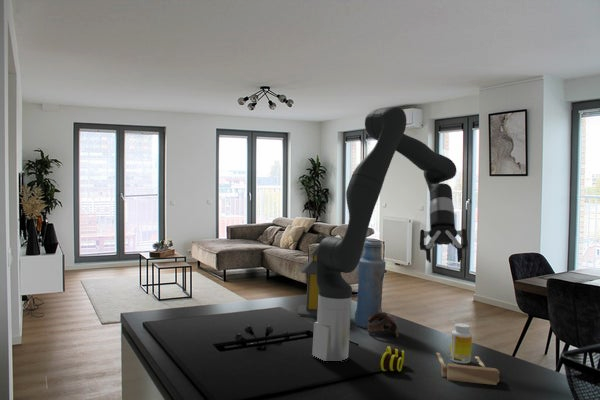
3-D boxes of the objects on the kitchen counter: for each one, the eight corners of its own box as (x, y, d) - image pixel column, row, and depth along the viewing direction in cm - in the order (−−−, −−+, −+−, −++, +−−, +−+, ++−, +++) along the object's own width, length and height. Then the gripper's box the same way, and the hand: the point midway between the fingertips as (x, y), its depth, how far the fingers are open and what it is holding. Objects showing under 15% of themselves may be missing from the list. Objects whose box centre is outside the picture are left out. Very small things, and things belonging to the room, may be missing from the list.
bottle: (378, 330, 172) (384, 242, 171) (350, 326, 176) (356, 239, 175) (384, 324, 181) (390, 239, 180) (358, 319, 185) (363, 237, 184)
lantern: (336, 318, 186) (340, 236, 185) (297, 316, 186) (302, 234, 185) (334, 309, 200) (338, 233, 199) (298, 307, 200) (302, 231, 199)
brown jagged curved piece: (400, 342, 162) (390, 320, 161) (373, 351, 165) (362, 329, 163) (400, 323, 174) (390, 302, 172) (374, 332, 176) (364, 311, 175)
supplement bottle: (474, 363, 143) (476, 327, 143) (458, 364, 141) (460, 328, 141) (461, 357, 148) (464, 322, 148) (445, 358, 147) (448, 322, 146)
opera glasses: (400, 376, 130) (401, 357, 130) (379, 373, 132) (381, 353, 132) (404, 364, 139) (405, 346, 139) (385, 361, 141) (386, 343, 141)
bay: (432, 353, 151) (433, 341, 151) (481, 357, 149) (482, 345, 149) (443, 379, 129) (444, 365, 129) (501, 385, 127) (501, 371, 127)
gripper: (418, 209, 161) (419, 256, 153) (465, 208, 158) (469, 256, 150) (419, 220, 168) (420, 266, 159) (464, 219, 164) (468, 266, 156)
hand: (444, 261), depth 155 cm, fingers open, 8 cm apart
